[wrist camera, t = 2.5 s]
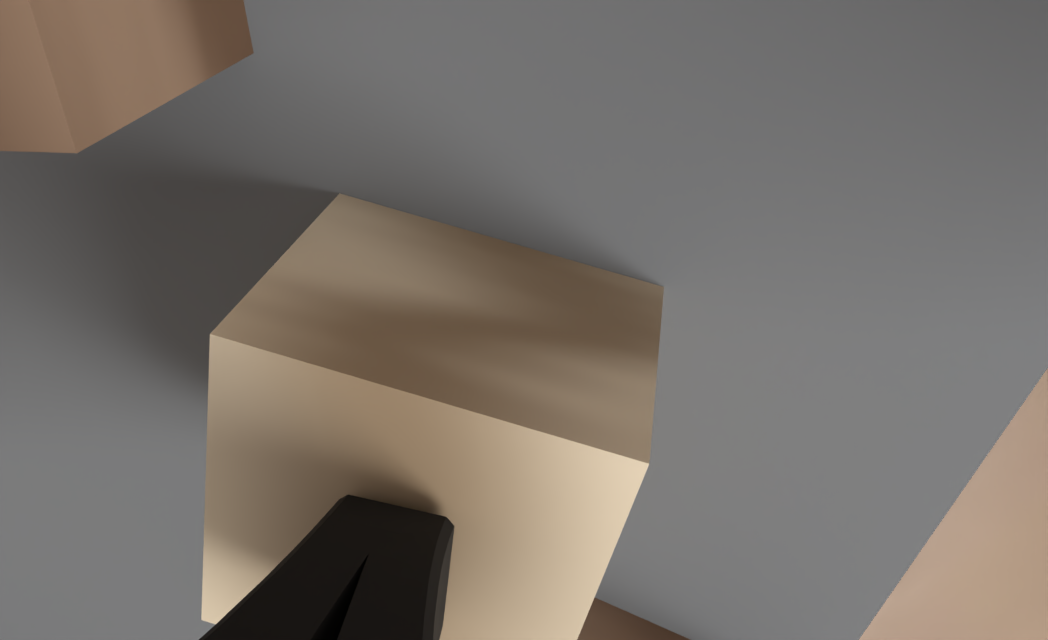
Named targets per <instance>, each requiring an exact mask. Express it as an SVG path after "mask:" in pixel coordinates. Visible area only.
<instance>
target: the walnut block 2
mask: <svg viewBox="0 0 1048 640" xmlns="http://www.w3.org/2000/svg"><path fill="white" fill-rule="evenodd" d="M577 640H690V639H688V638H686V637H684V636H681V635H679V634H677V633H674V632H672V631H670V630H668V629H665V628H663V627H661V626H659V625H656V624H654V623H652V622H649V621H647V620H645V619H643V618H640V617H638V616H636V615H634V614H631V613H629V612H627V611H624V610H622V609H620V608H618V607H615V606H613V605H611V604H609V603H606V602H604V601H602V600H599V599H597V598H595V597H594V600H593V602H592V605H591V607H590V610H589V612H588V615H587V617H586V619H585V622H584V624H583V627H582V629H581V632H580V634H579V636H578V639H577Z"/></svg>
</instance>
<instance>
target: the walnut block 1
mask: <svg viewBox="0 0 1048 640" xmlns="http://www.w3.org/2000/svg"><path fill="white" fill-rule="evenodd" d="M253 53H254V52H253V47H252V42H251V37H250V31H249V26H248V21H247V16H246V11H245V5H244V0H0V151H18V152H51V153H78V152H80V151H82V150H84V149H85V148H87V147H89V146H91V145H92V144H94V143H96V142H98V141H99V140H101V139H103V138H105V137H107V136H108V135H110V134H112V133H114V132H115V131H117V130H119V129H121V128H122V127H124V126H126V125H128V124H129V123H131V122H133V121H135V120H137V119H138V118H140V117H142V116H144V115H145V114H147V113H149V112H151V111H152V110H154V109H156V108H158V107H159V106H161V105H163V104H165V103H167V102H168V101H170V100H172V99H174V98H175V97H177V96H179V95H181V94H182V93H184V92H186V91H188V90H189V89H191V88H193V87H195V86H197V85H198V84H200V83H202V82H204V81H205V80H207V79H209V78H211V77H212V76H214V75H216V74H218V73H219V72H221V71H223V70H225V69H227V68H228V67H230V66H232V65H234V64H235V63H237V62H239V61H241V60H242V59H244V58H246V57H248V56H249V55H251V54H253Z"/></svg>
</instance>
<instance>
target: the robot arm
mask: <svg viewBox="0 0 1048 640" xmlns="http://www.w3.org/2000/svg"><path fill="white" fill-rule="evenodd" d="M453 535H454V525H453V524H452V523H451V521H450V520H449V519H448V518H447V517H445V516H441V515H437V514H432V513H428V512H423V511H419V510H415V509H410V508H406V507H401V506H397V505H393V504H388V503H384V502H379V501H375V500H371V499H366V498H362V497H357V496H353V495H349V494H348V495H346V496H344V497H342V498H341V499H339V500H338V501H337V502H336V503H335V504H334V506H333V507H332V508H331V509H330V510H329V511H328V512H327V513H326V515H325V516H324V517H323V518H322V519H321V520H320V521H319V522H318V523H317V524H316V526H315V527H314V528H313V529H312V530H311V531H310V532H309V533H308V534H307V535H306V536H305V537H304V538H303V539H302V540H301V542H300V543H299V544H298V545H297V546H296V547H295V548H294V549H293V550H292V551H291V552H290V553H289V554H288V555H287V556H286V557H285V558H284V559H283V560H282V561H281V562H280V563H279V564H278V565H277V566H276V567H275V568H274V569H273V570H272V571H271V572H270V573H269V574H268V575H267V576H266V577H265V578H264V579H263V580H262V581H261V582H260V583H259V584H258V585H257V586H256V587H255V588H254V589H253V590H251V591H250V592H249V593H248V594H247V595H246V596H245V597H244V598H243V599H242V600H241V601H240V602H239V603H238V604H237V605H236V606H235V607H234V608H232V609H231V610H230V611H229V612H228V613H227V614H226V615H225V616H224V617H223V618H222V619H221V620H220V621H219V622H218V623H217V624H216V625H214V626H213V627H212V628H211V629H210V630H209V631H208V632H207V633H206V634H205V635H203V636H202V637H201V638H200V639H199V640H439V639H440V635H441V631H442V627H443V621H444V612H445V604H446V595H447V586H448V578H449V569H450V561H451V552H452V544H453Z"/></svg>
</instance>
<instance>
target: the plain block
mask: <svg viewBox="0 0 1048 640" xmlns="http://www.w3.org/2000/svg"><path fill="white" fill-rule="evenodd" d="M663 293H664V287H662V286H659V285H655V284H652V283H648V282H645V281H641V280H638V279H635V278H631V277H628V276H624V275H621V274H617V273H614V272H610V271H607V270H603V269H600V268H596V267H593V266H589V265H586V264H583V263H579V262H576V261H572V260H569V259H565V258H562V257H558V256H555V255H551V254H548V253H544V252H541V251H537V250H534V249H531V248H527V247H524V246H520V245H517V244H513V243H510V242H506V241H503V240H499V239H496V238H492V237H489V236H485V235H482V234H479V233H475V232H472V231H468V230H465V229H461V228H458V227H454V226H451V225H447V224H444V223H440V222H437V221H433V220H430V219H427V218H423V217H420V216H416V215H413V214H409V213H406V212H402V211H399V210H395V209H392V208H388V207H385V206H382V205H378V204H375V203H371V202H368V201H364V200H361V199H357V198H354V197H350V196H347V195H343V194H340V193H339V195H338V196H337V197H336V198H335V199H334V200H333V201H332V202H331V203H330V204H329V205H328V207H327V208H326V209H325V210H324V211H323V212H322V213H321V214H320V215H319V216H318V217H317V218H316V220H315V221H314V222H313V223H312V224H311V225H310V226H309V227H308V228H307V229H306V230H305V231H304V233H303V234H302V235H301V236H300V237H299V238H298V239H297V240H296V241H295V242H294V243H293V244H292V246H291V247H290V248H289V249H288V250H287V251H286V252H285V253H284V254H283V255H282V256H281V257H280V259H279V260H278V261H277V262H276V263H275V264H274V265H273V266H272V267H271V268H270V269H269V270H268V272H267V273H266V274H265V275H264V276H263V277H262V278H261V279H260V280H259V281H258V282H257V283H256V285H255V286H254V287H253V288H252V289H251V290H250V291H249V292H248V293H247V294H246V295H245V296H244V298H243V299H242V300H241V301H240V302H239V303H238V304H237V305H236V306H235V307H234V308H233V310H232V311H231V312H230V313H229V314H228V315H227V316H226V317H225V318H224V319H223V320H222V321H221V323H220V324H219V325H218V326H217V327H216V328H215V329H214V330H213V331H212V332H211V333H210V346H209V380H208V413H207V447H206V480H205V513H204V547H203V580H202V614H201V620H203V621H206V622H209V623H213V624H217V623H218V622H219V621H220V620H221V619H222V618H223V617H224V616H225V615H226V614H227V613H228V612H229V611H230V610H231V609H232V608H234V607H235V606H236V605H237V604H238V603H239V602H240V601H241V600H242V599H243V598H244V597H245V596H246V595H247V594H248V593H249V592H250V591H251V590H253V589H254V588H255V587H256V586H257V585H258V584H259V583H260V582H261V581H262V580H263V579H264V578H265V577H266V576H267V575H268V574H269V573H270V572H271V571H272V570H273V569H274V568H275V567H276V566H277V565H278V564H279V563H280V562H281V561H282V560H283V559H284V558H285V557H286V556H287V555H288V554H289V553H290V552H291V551H292V550H293V549H294V548H295V547H296V546H297V545H298V544H299V543H300V542H301V540H302V539H303V538H304V537H305V536H306V535H307V534H308V533H309V532H310V531H311V530H312V529H313V528H314V527H315V526H316V524H317V523H318V522H319V521H320V520H321V519H322V518H323V517H324V516H325V515H326V513H327V512H328V511H329V510H330V509H331V508H332V507H333V506H334V504H335V503H336V502H337V501H338V500H339V499H341V498H342V497H344V496H346V495H348V494H349V495H353V496H357V497H362V498H366V499H371V500H375V501H379V502H384V503H388V504H393V505H397V506H401V507H406V508H410V509H415V510H419V511H423V512H428V513H432V514H437V515H441V516H445V517H447V518H448V519H449V520H450V521H451V523H452V524H453V525H454V535H453V544H452V552H451V561H450V569H449V578H448V586H447V595H446V604H445V612H444V621H443V627H442V631H441V635H440V639H439V640H577V639H578V636H579V634H580V632H581V629H582V627H583V624H584V622H585V619H586V617H587V615H588V612H589V610H590V607H591V605H592V602H593V600H594V597H595V595H596V593H597V590H598V588H599V585H600V583H601V580H602V578H603V576H604V573H605V571H606V568H607V566H608V563H609V561H610V558H611V556H612V554H613V551H614V549H615V546H616V544H617V541H618V539H619V537H620V534H621V532H622V529H623V527H624V524H625V522H626V520H627V517H628V515H629V512H630V510H631V507H632V505H633V502H634V500H635V498H636V495H637V493H638V490H639V488H640V485H641V483H642V481H643V478H644V476H645V473H646V471H647V468H648V466H649V462H650V450H651V438H652V426H653V414H654V402H655V390H656V378H657V366H658V354H659V342H660V330H661V318H662V305H663Z"/></svg>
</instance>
